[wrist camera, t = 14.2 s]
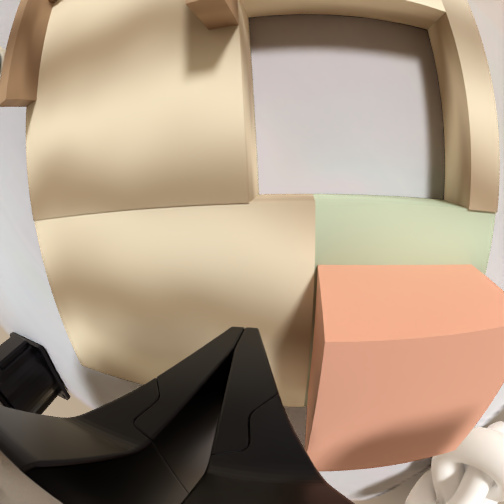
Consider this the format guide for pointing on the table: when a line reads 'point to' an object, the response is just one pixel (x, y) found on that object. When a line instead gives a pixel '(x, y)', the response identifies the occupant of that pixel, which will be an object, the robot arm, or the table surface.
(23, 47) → the cubby
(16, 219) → the table surface
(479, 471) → the white knot sculpture
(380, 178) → the table surface
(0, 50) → the condiment
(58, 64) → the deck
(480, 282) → the coral block
